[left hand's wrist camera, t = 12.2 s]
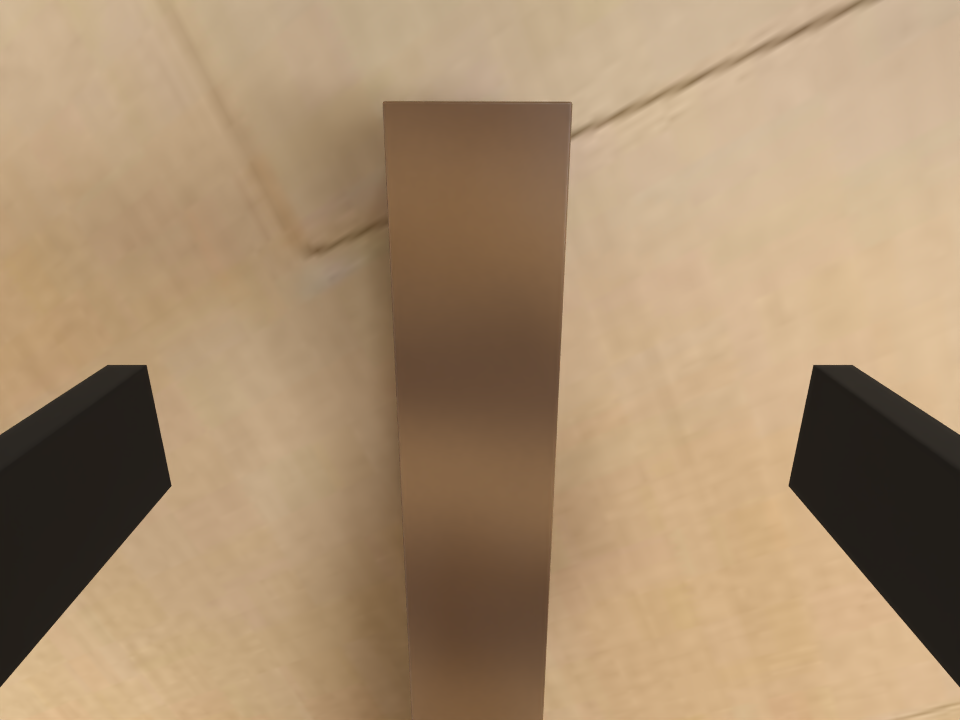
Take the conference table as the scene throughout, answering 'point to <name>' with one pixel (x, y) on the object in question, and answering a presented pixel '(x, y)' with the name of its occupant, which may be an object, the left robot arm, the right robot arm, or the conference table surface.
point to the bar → (477, 391)
